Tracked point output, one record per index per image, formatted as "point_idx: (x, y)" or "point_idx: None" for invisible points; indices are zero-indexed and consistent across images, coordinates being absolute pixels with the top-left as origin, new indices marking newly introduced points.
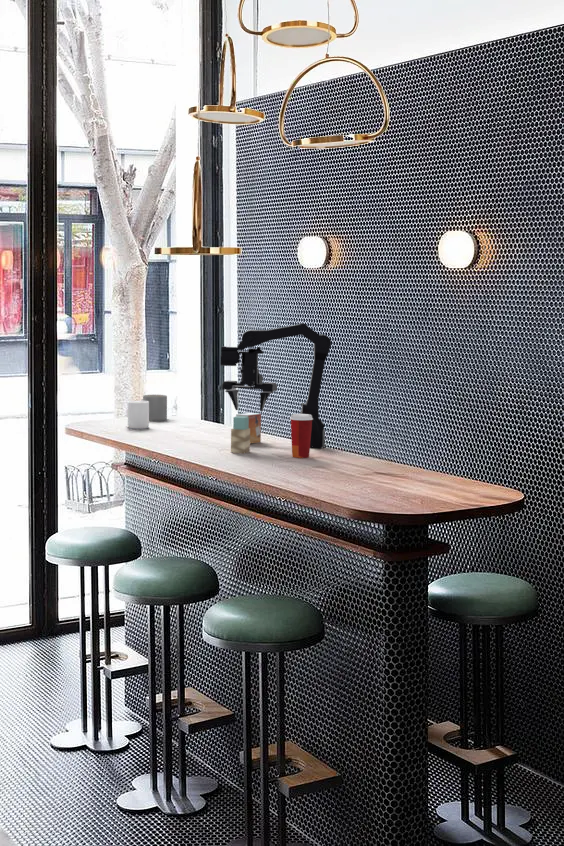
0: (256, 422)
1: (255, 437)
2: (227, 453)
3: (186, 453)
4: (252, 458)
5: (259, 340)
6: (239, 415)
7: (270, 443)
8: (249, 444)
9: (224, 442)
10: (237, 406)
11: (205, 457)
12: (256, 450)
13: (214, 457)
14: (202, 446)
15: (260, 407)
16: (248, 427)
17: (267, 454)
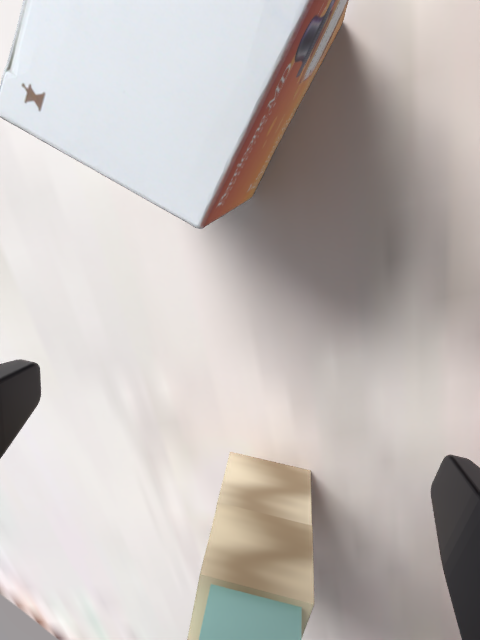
0: (312, 46)
1: (302, 92)
2: (208, 533)
3: (39, 546)
4: (347, 635)
5: None
6: (61, 149)
7: (438, 70)
8: (309, 508)
9: None
10: (2, 407)
11: (148, 620)
12: (345, 433)
13: (182, 619)
14: (12, 344)
15: (450, 573)
16: (301, 615)
17: (417, 544)
